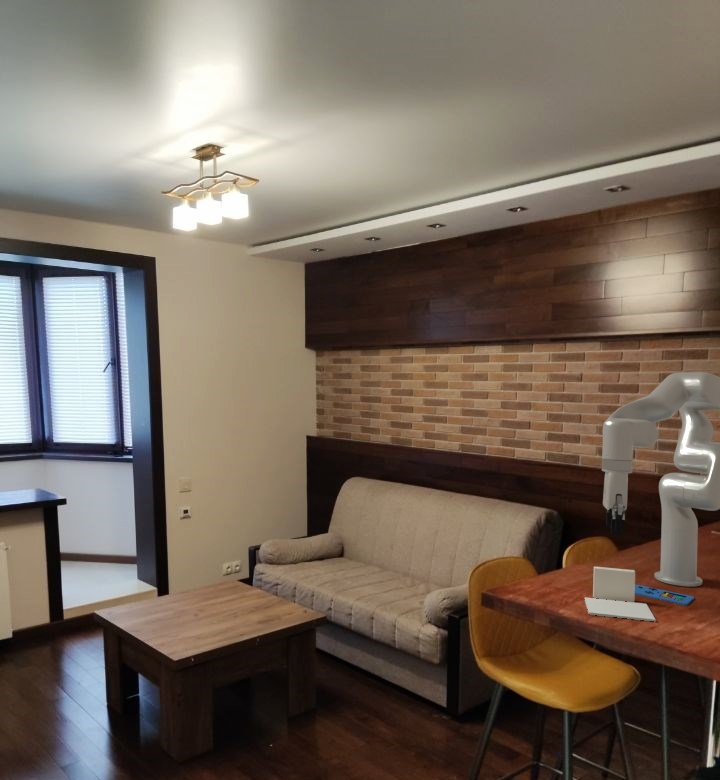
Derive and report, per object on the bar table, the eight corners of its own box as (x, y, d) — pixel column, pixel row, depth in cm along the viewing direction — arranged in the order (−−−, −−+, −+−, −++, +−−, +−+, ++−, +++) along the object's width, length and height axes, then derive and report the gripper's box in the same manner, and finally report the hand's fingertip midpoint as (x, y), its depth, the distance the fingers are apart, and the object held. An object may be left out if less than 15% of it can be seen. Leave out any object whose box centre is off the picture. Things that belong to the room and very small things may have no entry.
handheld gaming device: (636, 583, 179) (694, 595, 169) (636, 587, 179) (694, 599, 169) (627, 589, 173) (686, 602, 163) (626, 593, 173) (686, 607, 163)
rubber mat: (584, 599, 165) (584, 597, 165) (646, 606, 162) (646, 603, 162) (589, 614, 154) (589, 612, 154) (655, 622, 150) (655, 619, 150)
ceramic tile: (592, 596, 169) (593, 566, 169) (633, 600, 166) (633, 570, 166) (593, 598, 167) (594, 568, 167) (634, 602, 164) (635, 572, 164)
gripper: (598, 462, 176) (596, 523, 176) (606, 468, 159) (603, 536, 159) (627, 464, 174) (625, 526, 174) (638, 470, 157) (635, 539, 157)
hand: (615, 531), depth 166 cm, fingers open, 9 cm apart
